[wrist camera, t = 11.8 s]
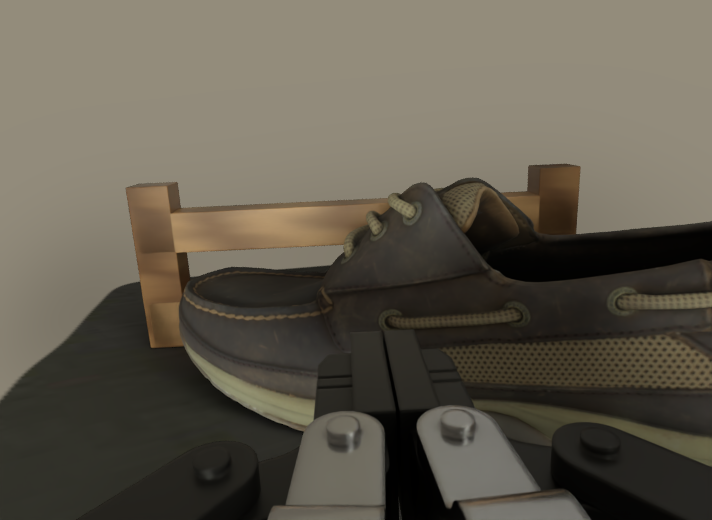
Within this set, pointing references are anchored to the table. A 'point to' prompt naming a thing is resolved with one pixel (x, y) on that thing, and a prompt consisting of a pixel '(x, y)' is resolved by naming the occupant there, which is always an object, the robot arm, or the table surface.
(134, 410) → the table surface
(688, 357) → the boat shoe
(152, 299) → the wooden display stand
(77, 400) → the table surface
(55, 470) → the table surface
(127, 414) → the table surface
